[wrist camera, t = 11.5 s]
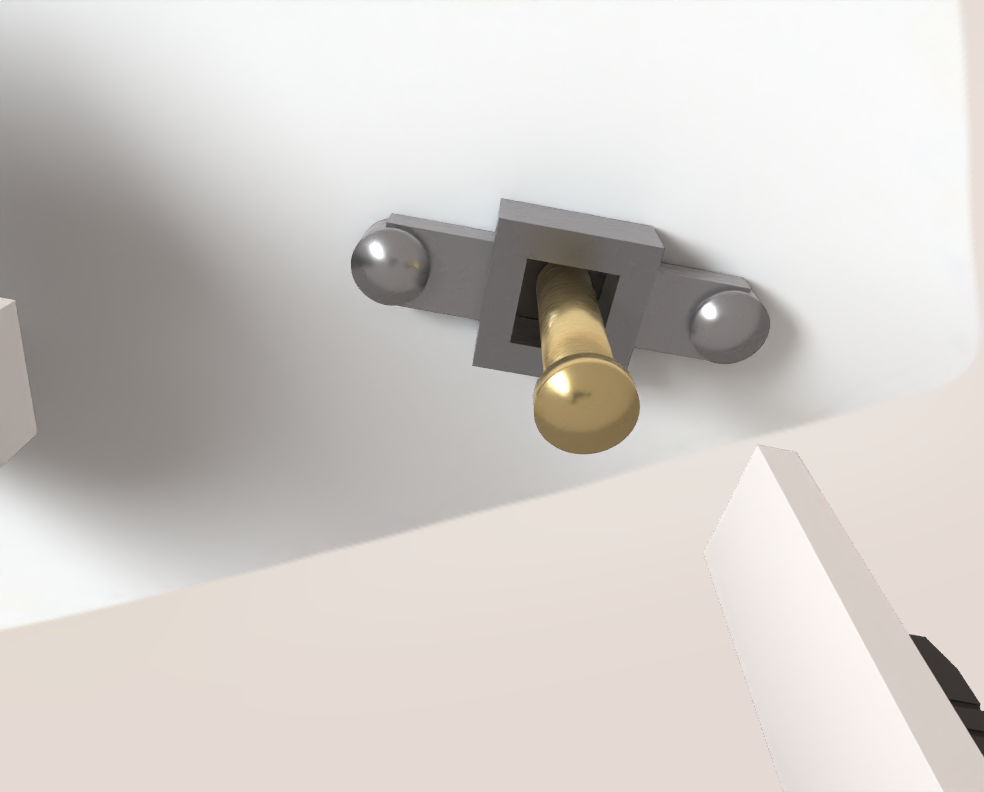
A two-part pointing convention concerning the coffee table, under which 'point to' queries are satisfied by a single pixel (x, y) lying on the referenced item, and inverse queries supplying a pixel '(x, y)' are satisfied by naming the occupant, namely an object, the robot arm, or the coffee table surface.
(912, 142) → the coffee table surface
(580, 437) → the pin
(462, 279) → the chain ends
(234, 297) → the coffee table surface
